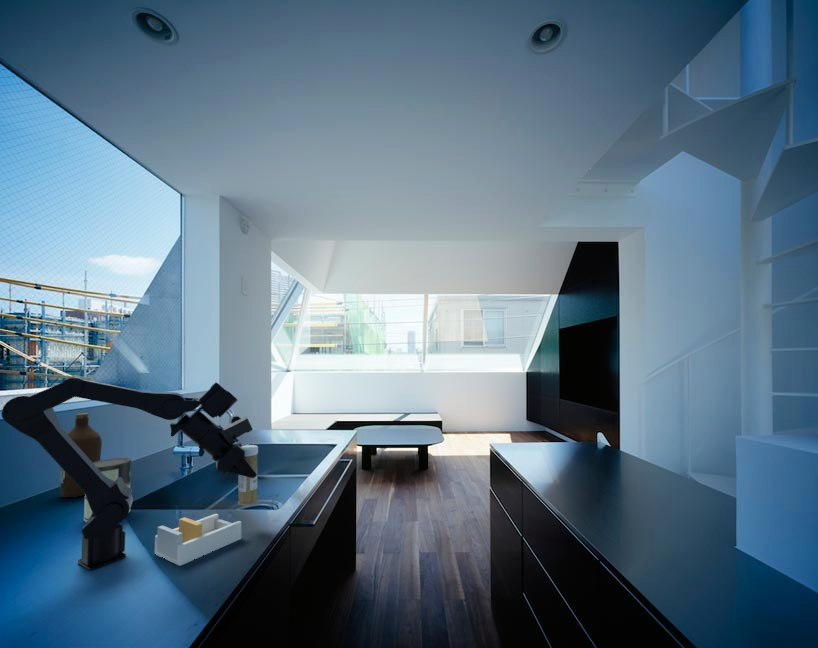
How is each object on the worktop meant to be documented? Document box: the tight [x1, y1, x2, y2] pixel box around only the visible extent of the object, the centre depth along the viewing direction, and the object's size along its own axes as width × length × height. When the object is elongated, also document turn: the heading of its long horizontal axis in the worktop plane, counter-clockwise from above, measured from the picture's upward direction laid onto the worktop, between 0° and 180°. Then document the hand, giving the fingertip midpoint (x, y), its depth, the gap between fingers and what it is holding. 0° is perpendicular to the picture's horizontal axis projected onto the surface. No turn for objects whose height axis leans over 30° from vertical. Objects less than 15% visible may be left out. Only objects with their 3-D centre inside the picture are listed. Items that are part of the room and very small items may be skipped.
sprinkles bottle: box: [237, 444, 259, 507], centre depth 100 cm, size 5×5×13 cm
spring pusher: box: [178, 516, 202, 543], centre depth 90 cm, size 1×7×5 cm, turn 57°
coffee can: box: [83, 457, 132, 523], centre depth 112 cm, size 10×10×14 cm
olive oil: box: [59, 412, 103, 498], centre depth 132 cm, size 11×11×25 cm
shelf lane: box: [154, 513, 242, 566], centre depth 91 cm, size 14×10×6 cm
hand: (254, 474), depth 101 cm, fingers closed on sprinkles bottle, 4 cm apart
